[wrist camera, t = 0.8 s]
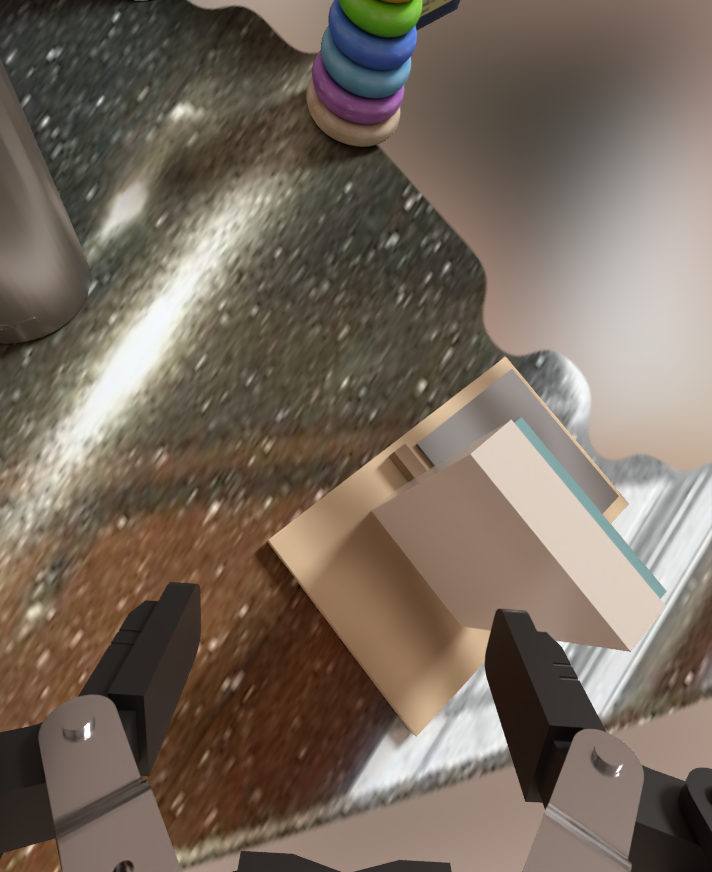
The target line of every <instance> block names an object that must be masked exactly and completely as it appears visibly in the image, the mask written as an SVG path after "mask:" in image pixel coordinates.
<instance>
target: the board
mask: <svg viewBox="0 0 712 872" xmlns="http://www.w3.org/2000/svg"><path fill="white" fill-rule="evenodd" d="M520 417H522V418H523V419H524V420H525V422H526V423H527V424H528V425H529V426H530V428H531V429H532V430H533V431H534V432H535V434H536V435H537V436H538V437H539V438H540V440H541V441H542V442H543V443H544V445H545V446H546V447H547V448H548V449H549V451H550V452H551V453H552V454H553V455H554V457H555V458H556V459H557V460H558V461H559V463H560V464H561V465H562V466H563V467H564V469H565V470H566V471H567V472H568V473H569V475H570V476H571V477H572V478H573V479H574V481H575V482H576V483H577V484H578V485H579V487H580V488H581V489H582V490H583V491H584V493H585V494H586V495H587V496H588V497H589V499H590V500H591V501H592V502H593V503H594V505H595V506H596V507H597V508H598V509H599V511H600V512H601V513H602V514H603V516H604V517H605V518H606V519H607V520H608V522H609V523H610V524H611V523H612V522H613V521H614V520H615V519H616V517H617V516H618V515H619V514H620V513H621V512H622V511H623V510H624V509H625V508H626V507H627V505H628V504H629V503H628V502H627V501H626V500H625V499H624V497H623V496H622V495H621V494H620V493H619V491H618V490H617V489H616V488H615V487H614V485H613V484H612V483H611V482H610V481H609V479H608V478H607V477H606V476H605V475H604V473H603V472H602V471H601V470H600V469H599V468H598V466H597V465H596V464H595V463H594V462H593V460H592V459H591V458H590V457H589V456H588V454H587V453H586V452H585V451H584V450H583V448H582V447H581V446H580V445H579V444H578V442H577V441H576V440H575V439H574V438H573V437H572V435H571V434H570V433H569V432H568V431H567V429H566V428H565V427H564V426H563V425H562V423H561V422H560V421H559V420H558V419H557V417H556V416H555V415H554V414H553V413H552V411H551V410H550V409H549V408H548V407H547V406H546V404H545V403H544V402H543V401H542V400H541V398H540V397H539V396H538V395H537V394H536V392H535V391H534V390H533V389H532V388H531V386H530V385H529V384H528V383H527V382H526V380H525V379H524V378H523V377H522V376H521V375H520V373H519V372H518V371H517V370H516V369H515V367H514V366H513V365H512V364H511V363H510V361H509V360H508V359H507V358H506V357H504V358H503V359H502V360H501V361H499V362H498V363H497V364H495V365H494V366H493V367H492V368H490V369H489V370H488V371H486V372H485V373H484V374H482V375H481V376H480V377H479V378H477V379H476V380H475V381H473V382H472V383H471V384H469V385H468V386H467V387H466V388H464V389H463V390H462V391H460V392H459V393H458V394H457V395H455V396H454V397H453V398H451V399H450V400H449V401H447V402H446V403H445V404H444V405H442V406H441V407H440V408H438V409H437V410H436V411H435V412H433V413H432V414H431V415H429V416H428V417H427V418H425V419H424V420H423V421H422V422H420V423H419V424H418V425H416V426H415V427H414V428H412V429H411V430H410V431H409V432H407V433H406V434H405V435H403V436H402V437H401V438H400V439H398V440H397V441H396V442H394V443H393V444H392V445H390V446H389V447H388V448H387V449H385V450H384V451H383V452H381V453H380V454H379V455H377V456H376V457H375V458H374V459H372V460H371V461H370V462H368V463H367V464H366V465H365V466H363V467H362V468H361V469H359V470H358V471H357V472H355V473H354V474H353V475H352V476H350V477H349V478H348V479H346V480H345V481H344V482H342V483H341V484H340V485H339V486H337V487H336V488H335V489H333V490H332V491H331V492H330V493H328V494H327V495H326V496H324V497H323V498H322V499H320V500H319V501H318V502H317V503H315V504H314V505H313V506H311V507H310V508H309V509H307V510H306V511H305V512H304V513H302V514H301V515H300V516H298V517H297V518H296V519H295V520H293V521H292V522H291V523H289V524H288V525H287V526H285V527H284V528H283V529H282V530H280V531H279V532H278V533H276V534H275V535H274V536H272V537H271V538H270V539H269V540H268V541H267V542H268V543H269V545H270V546H271V547H272V549H273V550H274V551H275V552H276V554H277V555H278V556H279V558H280V559H281V560H282V562H283V563H284V564H285V566H286V567H287V568H288V570H289V571H290V572H291V574H292V575H293V576H294V578H295V579H296V580H297V582H298V583H299V584H300V586H301V587H302V588H303V590H304V591H305V592H306V594H307V595H308V596H309V598H310V599H311V600H312V602H313V603H314V604H315V606H316V607H317V608H318V610H319V611H320V612H321V614H322V615H323V616H324V618H325V619H326V620H327V622H328V623H329V624H330V626H331V627H332V628H333V630H334V631H335V632H336V634H337V635H338V636H339V638H340V639H341V640H342V642H343V643H344V644H345V645H346V647H347V648H348V649H349V651H350V652H351V653H352V655H353V656H354V657H355V659H356V660H357V661H358V663H359V664H360V665H361V667H362V668H363V669H364V671H365V672H366V673H367V675H368V676H369V677H370V679H371V680H372V681H373V683H374V684H375V685H376V687H377V688H378V689H379V691H380V692H381V693H382V695H383V696H384V697H385V699H386V700H387V701H388V703H389V704H390V705H391V707H392V708H393V709H394V711H395V712H396V713H397V715H398V716H399V717H400V719H401V720H402V721H403V723H404V724H405V725H406V727H407V728H408V729H409V731H410V732H411V733H413V734H414V735H415V736H417V735H418V734H419V733H420V732H421V731H422V730H423V729H424V728H425V727H426V725H427V724H428V723H429V722H430V721H431V720H432V719H433V718H434V717H435V716H436V714H437V713H438V712H439V711H440V710H441V709H442V708H443V707H444V706H445V705H446V704H447V702H448V701H449V700H450V699H451V698H452V697H453V696H454V695H455V694H456V693H457V691H458V690H459V689H460V688H461V687H462V686H463V685H464V684H465V683H466V682H467V681H468V679H469V678H470V677H471V676H472V675H473V674H474V673H475V672H476V671H477V670H478V669H479V667H480V666H481V665H482V664H483V663H484V662H485V653H486V648H487V644H488V640H489V636H490V632H491V631H489V630H482V629H476V628H469V627H462V626H461V625H460V624H459V623H458V622H457V620H456V619H455V618H454V616H453V615H452V614H451V613H450V611H449V610H448V609H447V607H446V606H445V605H444V604H443V602H442V601H441V600H440V598H439V597H438V596H437V595H436V593H435V592H434V591H433V589H432V588H431V587H430V586H429V584H428V583H427V582H426V581H425V579H424V578H423V577H422V575H421V574H420V573H419V572H418V570H417V569H416V568H415V566H414V565H413V564H412V563H411V561H410V560H409V559H408V557H407V556H406V555H405V554H404V552H403V551H402V550H401V548H400V547H399V546H398V545H397V543H396V542H395V541H394V540H393V538H392V537H391V536H390V534H389V533H388V532H387V531H386V529H385V528H384V527H383V525H382V524H381V523H380V522H379V520H378V519H377V518H376V516H375V515H374V514H373V513H372V511H371V510H373V509H374V508H375V507H376V506H377V505H379V504H380V503H381V502H382V501H384V500H385V499H386V498H387V497H388V496H390V495H391V494H392V493H393V492H394V491H396V490H397V489H398V488H400V487H401V486H403V485H405V484H406V483H408V482H410V481H411V480H413V479H414V478H416V477H418V476H419V475H421V474H423V473H424V472H426V471H428V470H429V469H431V468H432V467H434V466H436V465H437V464H439V463H441V462H442V461H444V460H446V459H447V458H449V457H451V456H452V455H454V454H455V453H457V452H459V451H460V450H462V449H464V448H465V447H467V446H469V445H470V444H472V443H473V442H475V441H477V440H478V439H480V438H482V437H483V436H485V435H487V434H488V433H490V432H491V431H493V430H495V429H496V428H498V427H500V426H501V425H503V424H505V423H506V422H508V421H509V420H512V421H513V422H514V421H515V420H517V419H519V418H520Z"/></svg>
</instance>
